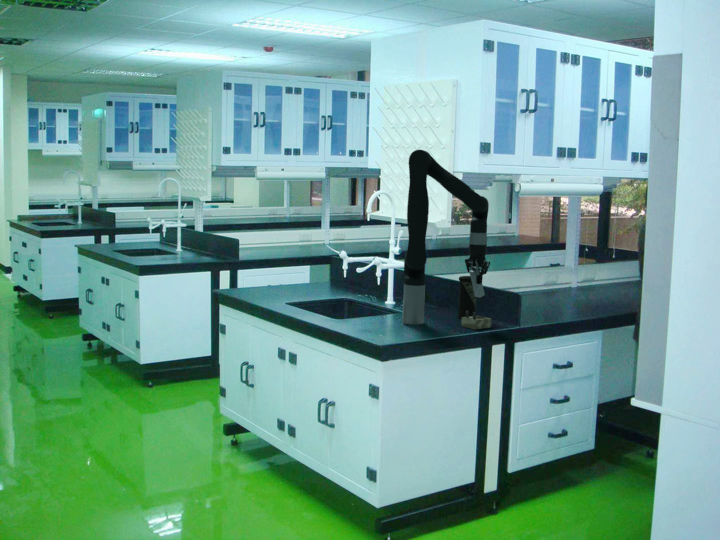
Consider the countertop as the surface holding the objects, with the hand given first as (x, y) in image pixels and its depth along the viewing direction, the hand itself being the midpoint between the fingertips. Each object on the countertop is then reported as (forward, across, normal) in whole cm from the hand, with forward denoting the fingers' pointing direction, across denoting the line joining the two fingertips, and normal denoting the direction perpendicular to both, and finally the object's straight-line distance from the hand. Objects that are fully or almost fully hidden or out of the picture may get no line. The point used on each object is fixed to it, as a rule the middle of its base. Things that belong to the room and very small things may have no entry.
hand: (476, 283), depth 322 cm
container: (+20, +18, -12) cm, 29 cm away
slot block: (+19, +1, -2) cm, 19 cm away
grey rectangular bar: (+6, 0, -2) cm, 6 cm away
